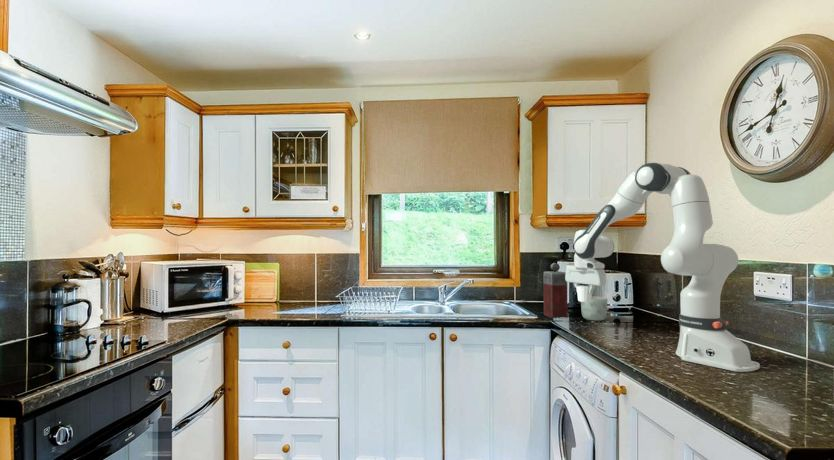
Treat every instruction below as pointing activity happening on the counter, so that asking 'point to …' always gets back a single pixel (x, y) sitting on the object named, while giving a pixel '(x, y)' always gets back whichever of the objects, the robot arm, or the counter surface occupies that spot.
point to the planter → (595, 309)
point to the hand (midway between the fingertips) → (584, 293)
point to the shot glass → (583, 293)
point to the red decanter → (555, 292)
